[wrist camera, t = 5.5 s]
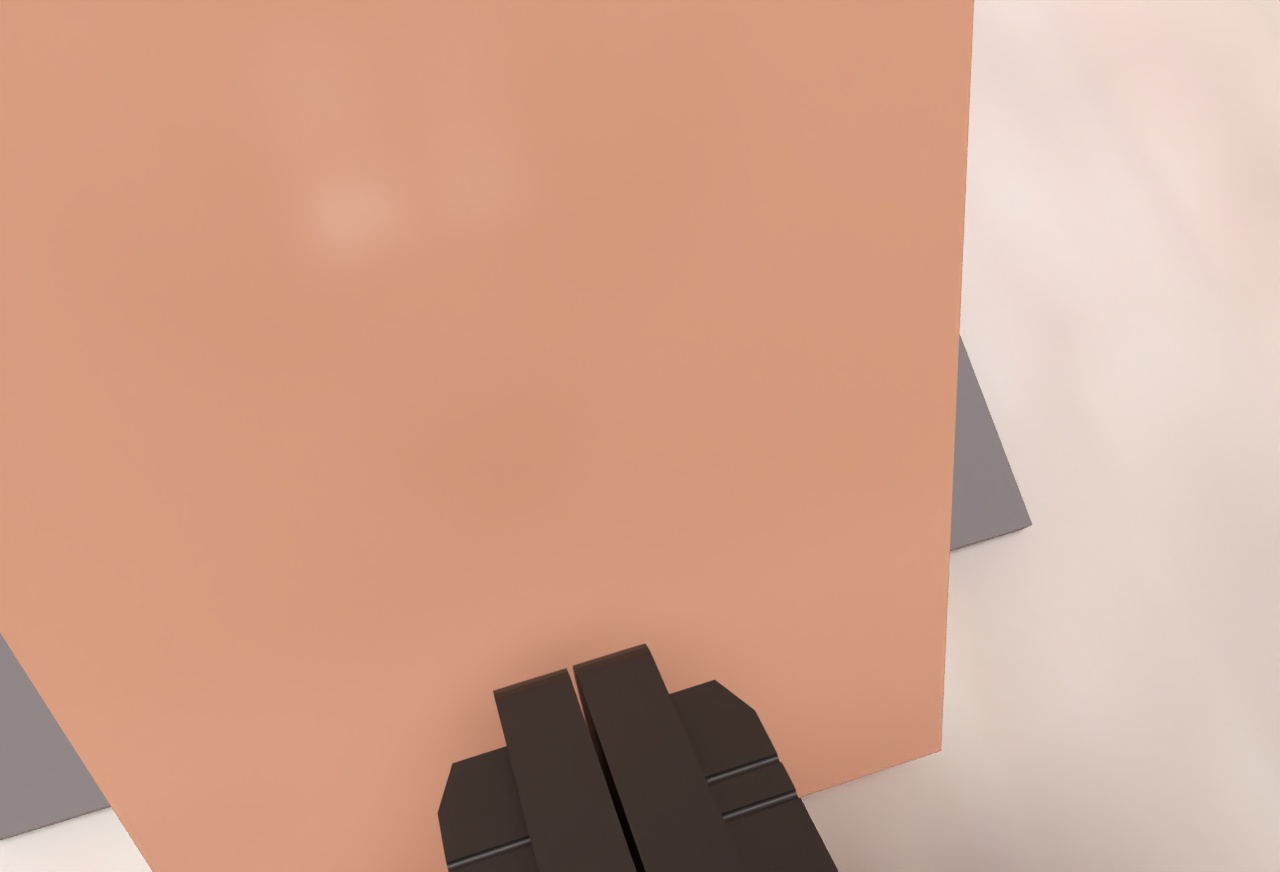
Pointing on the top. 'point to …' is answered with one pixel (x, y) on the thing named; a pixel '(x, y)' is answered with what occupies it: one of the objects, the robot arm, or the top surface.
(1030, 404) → the top surface
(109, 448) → the tile
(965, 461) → the mat
